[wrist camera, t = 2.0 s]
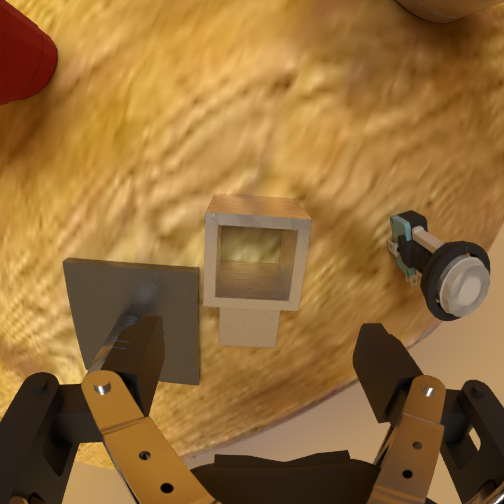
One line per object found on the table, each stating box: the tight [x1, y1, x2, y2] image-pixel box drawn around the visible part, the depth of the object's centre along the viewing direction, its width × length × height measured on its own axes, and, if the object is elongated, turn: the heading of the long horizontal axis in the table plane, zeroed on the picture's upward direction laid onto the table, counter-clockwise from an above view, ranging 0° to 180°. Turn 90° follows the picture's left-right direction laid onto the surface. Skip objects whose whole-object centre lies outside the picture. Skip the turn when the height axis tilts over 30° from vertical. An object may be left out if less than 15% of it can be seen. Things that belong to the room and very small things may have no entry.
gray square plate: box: [63, 258, 200, 385], centre depth 23 cm, size 12×12×9 cm
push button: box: [387, 210, 490, 321], centre depth 21 cm, size 7×5×10 cm
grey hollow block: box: [204, 194, 312, 348], centre depth 22 cm, size 10×6×6 cm, turn 176°
